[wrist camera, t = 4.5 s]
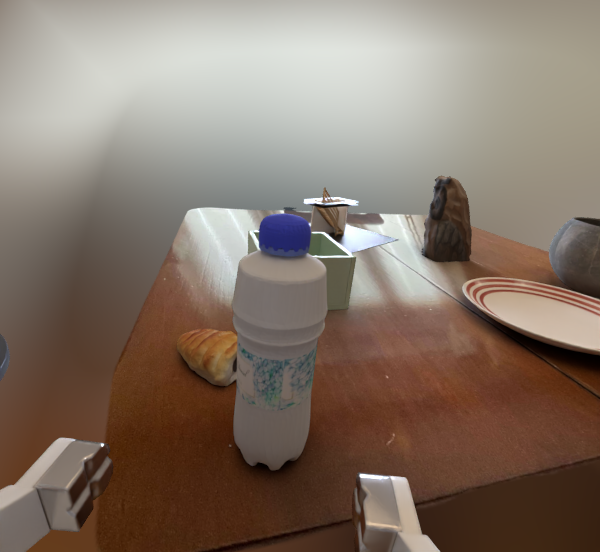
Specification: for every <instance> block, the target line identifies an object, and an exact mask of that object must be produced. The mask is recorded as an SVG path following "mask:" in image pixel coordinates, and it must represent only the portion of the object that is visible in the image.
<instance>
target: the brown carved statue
mask: <svg viewBox="0 0 600 552" xmlns="http://www.w3.org/2000/svg"><path fill="white" fill-rule="evenodd" d="M435 181H436V185H435V187H434V198H433V201H432V203H431V204H430V210H429V215H428V217H427V219H426V221H425V223H424V225H425V229H426V230H425V233H424V248H423V249H422V250H423V251H422V253H423V254H422V255H424V256H425V257H427V258H430V259H431V260H433V261H436V262H444V261H449V262H450V261H467V260H469V256H470V254H471V236H472V233H471V232H472V231H471V227H470V215H469V213H470V212H469V204H468V198H467V195H466V192H465V190H464V189H463V187H462V186H461V184H460V182H459V181H458V180H456V179H454V178H451V177H444V176H439V177H438V178H436V179H435Z"/></svg>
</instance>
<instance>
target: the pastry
mask: <svg viewBox="0 0 600 552" xmlns="http://www.w3.org/2000/svg"><path fill="white" fill-rule="evenodd" d="M177 350H178V351H179V352H180V354H181V355H182V357H183V358H184V360H185V361H186V362H187V363H188V365H189V368H190V369H191V370H194V371H195V372H196V373H197V374H198V375H200V376H201V377H202V378H203V377H204V378H205V379H207V380H208V381H209V382H210V383H212V384H214V385H219V386H227V385H229V384H231V383H232V382H233V381H234V380H236V379H237V335H236V334H234V333H233V332H231V331H225V332H221V331H215V330H213V329H196V330H194V331H191V332H188V333H186V334H183V335H180V337H179V338H178V342H177Z"/></svg>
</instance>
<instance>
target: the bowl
mask: <svg viewBox="0 0 600 552" xmlns="http://www.w3.org/2000/svg"><path fill="white" fill-rule="evenodd" d="M549 258H550V263H551V266H552V268H553V270H554V272H555V273H556V275H557V276H558V277H559V278H560V280H561V281H562V282H563V283H565V284H566V285H567V286H568V287H570V288H571V289H573V290H575V291H577V292H579V293H581V294H584V295H587V296H590V297H593V298H598V299H600V219H595V218H584V217H575V218H572V219H571V220H569V221H568V222H567V223H565V224H564V225H563V226H562V227H561V228H560V229H559V231H558V232H557V233H556V235H555V236H554V238H553V240H552V243H551V245H550V249H549Z"/></svg>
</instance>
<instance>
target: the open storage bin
mask: <svg viewBox="0 0 600 552" xmlns="http://www.w3.org/2000/svg"><path fill="white" fill-rule="evenodd" d="M258 250H261V249H260V248H259V231H249V233H248V254H250V253H253V252H256V251H258ZM308 254H310V255H312V256H313V257H315V258H317V259H318V260H320V261H321V262H322V263H323V264H324V265H325V267H326V274H327V308H328V310H338V309H348V306H349V299H350V293H351V287H352V280H353V274H354V268H355V262H356V257H355V256H354V255H353V254H351V253H350V252H349V251H348V250H346V249H345V248H344V247H343V246H341V245H340V244H339V243H337V242H336V241H335V240H334V239H332V238H331V237H330V236H329V235H327V234H326V233H325V232H311V240H310V247H309V252H308Z"/></svg>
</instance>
